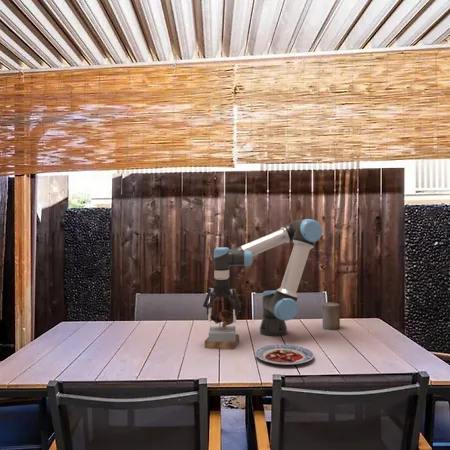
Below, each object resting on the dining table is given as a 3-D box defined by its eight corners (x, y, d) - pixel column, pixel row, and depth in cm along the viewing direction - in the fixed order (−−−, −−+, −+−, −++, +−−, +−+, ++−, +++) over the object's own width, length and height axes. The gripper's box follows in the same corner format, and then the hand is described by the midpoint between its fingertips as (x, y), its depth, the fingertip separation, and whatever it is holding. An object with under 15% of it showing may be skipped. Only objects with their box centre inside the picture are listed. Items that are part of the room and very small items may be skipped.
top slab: (235, 333, 199) (235, 326, 199) (235, 341, 186) (235, 333, 186) (210, 334, 199) (210, 326, 199) (208, 341, 186) (208, 333, 186)
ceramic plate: (301, 373, 154) (301, 365, 154) (245, 362, 168) (245, 355, 168) (321, 354, 176) (321, 348, 176) (270, 346, 190) (270, 340, 190)
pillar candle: (342, 327, 223) (341, 301, 223) (337, 331, 214) (336, 304, 215) (325, 324, 228) (325, 299, 228) (320, 328, 220) (319, 302, 220)
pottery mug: (232, 322, 200) (236, 310, 196) (231, 335, 191) (235, 323, 187) (209, 317, 199) (213, 305, 195) (207, 330, 191) (211, 317, 187)
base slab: (239, 342, 198) (238, 334, 198) (232, 350, 184) (232, 342, 184) (212, 340, 201) (212, 332, 201) (204, 348, 188) (204, 340, 188)
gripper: (247, 277, 193) (247, 321, 193) (201, 276, 200) (201, 318, 199) (244, 280, 186) (244, 324, 186) (196, 278, 192) (196, 322, 192)
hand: (222, 321), depth 193 cm, fingers closed on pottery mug, 12 cm apart
